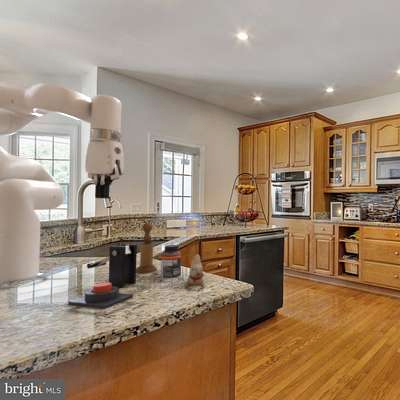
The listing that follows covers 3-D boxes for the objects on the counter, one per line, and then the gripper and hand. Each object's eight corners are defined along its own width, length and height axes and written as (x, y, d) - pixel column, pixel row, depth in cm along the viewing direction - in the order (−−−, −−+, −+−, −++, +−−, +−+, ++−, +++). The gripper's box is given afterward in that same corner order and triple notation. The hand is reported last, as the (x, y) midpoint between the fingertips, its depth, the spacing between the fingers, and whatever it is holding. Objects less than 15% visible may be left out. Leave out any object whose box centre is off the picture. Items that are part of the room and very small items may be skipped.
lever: (88, 270, 79) (85, 263, 80) (103, 267, 84) (101, 259, 84) (121, 255, 77) (118, 247, 77) (135, 252, 82) (132, 244, 82)
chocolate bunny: (180, 291, 80) (181, 256, 80) (190, 283, 88) (190, 251, 88) (200, 291, 80) (201, 256, 80) (208, 283, 88) (208, 251, 88)
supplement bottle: (168, 276, 95) (169, 243, 95) (184, 278, 94) (185, 244, 94) (156, 281, 89) (157, 246, 89) (173, 283, 88) (173, 246, 88)
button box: (67, 311, 64) (68, 293, 64) (99, 299, 72) (100, 284, 72) (104, 315, 62) (104, 297, 62) (132, 303, 70) (133, 287, 70)
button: (88, 293, 65) (89, 285, 65) (102, 288, 69) (103, 281, 69) (101, 294, 65) (101, 287, 65) (115, 290, 68) (115, 282, 68)
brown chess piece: (147, 278, 93) (148, 223, 93) (130, 276, 94) (132, 223, 94) (160, 273, 99) (162, 222, 100) (145, 272, 101) (146, 222, 101)
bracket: (94, 292, 77) (96, 246, 77) (119, 284, 85) (120, 242, 85) (125, 296, 75) (127, 248, 75) (147, 287, 83) (149, 244, 83)
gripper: (135, 140, 86) (132, 199, 86) (97, 141, 90) (94, 197, 90) (114, 134, 79) (111, 198, 79) (73, 135, 83) (70, 196, 82)
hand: (102, 198), depth 84 cm, fingers closed
